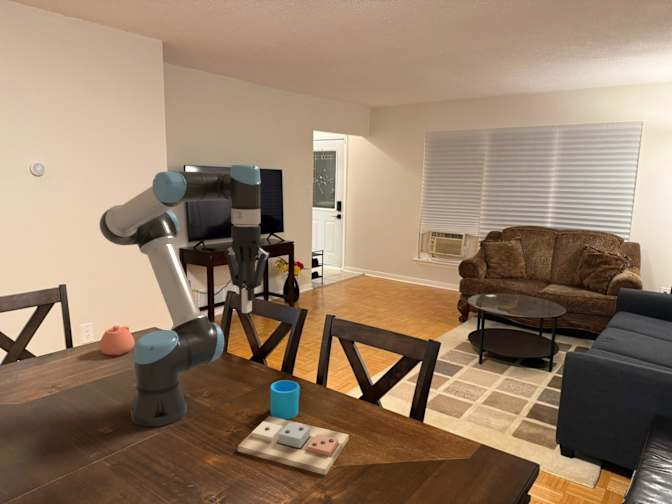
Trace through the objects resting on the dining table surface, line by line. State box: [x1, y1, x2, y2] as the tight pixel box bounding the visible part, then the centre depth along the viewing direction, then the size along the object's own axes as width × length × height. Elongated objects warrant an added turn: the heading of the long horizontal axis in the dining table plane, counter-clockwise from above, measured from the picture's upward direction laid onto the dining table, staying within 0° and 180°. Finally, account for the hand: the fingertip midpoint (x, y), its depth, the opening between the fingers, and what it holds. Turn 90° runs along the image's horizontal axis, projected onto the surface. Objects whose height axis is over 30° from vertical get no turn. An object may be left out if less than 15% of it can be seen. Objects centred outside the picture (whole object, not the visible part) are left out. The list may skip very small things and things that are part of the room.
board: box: [237, 415, 350, 476], centre depth 122 cm, size 24×16×2 cm, turn 69°
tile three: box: [307, 434, 338, 457], centre depth 119 cm, size 6×6×3 cm
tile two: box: [279, 422, 310, 449], centre depth 122 cm, size 6×6×3 cm
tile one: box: [251, 420, 283, 443], centre depth 125 cm, size 6×6×3 cm
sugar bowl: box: [98, 325, 136, 356], centre depth 181 cm, size 12×14×10 cm
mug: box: [269, 379, 301, 420], centre depth 140 cm, size 12×8×8 cm
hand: (246, 311), depth 127 cm, fingers closed
